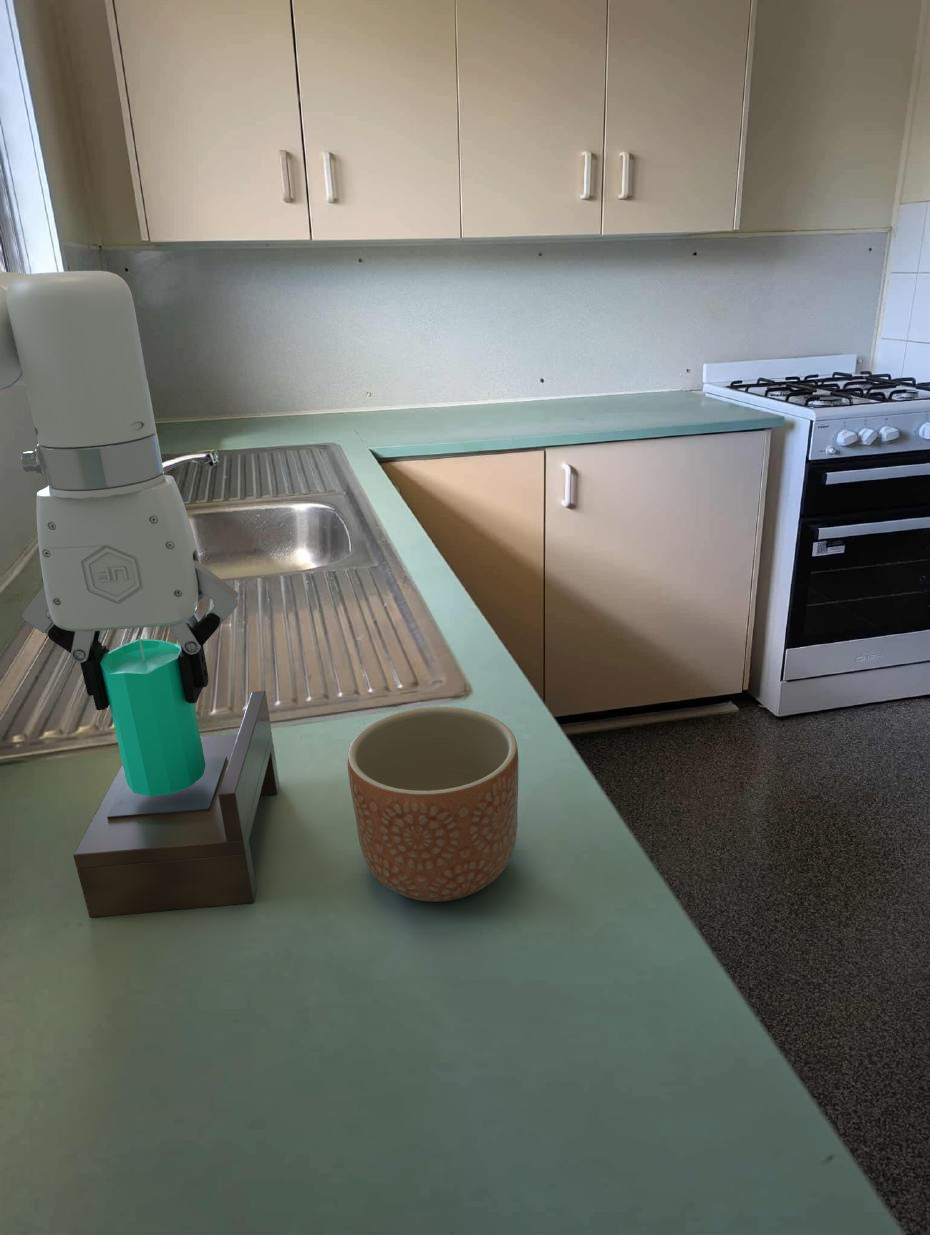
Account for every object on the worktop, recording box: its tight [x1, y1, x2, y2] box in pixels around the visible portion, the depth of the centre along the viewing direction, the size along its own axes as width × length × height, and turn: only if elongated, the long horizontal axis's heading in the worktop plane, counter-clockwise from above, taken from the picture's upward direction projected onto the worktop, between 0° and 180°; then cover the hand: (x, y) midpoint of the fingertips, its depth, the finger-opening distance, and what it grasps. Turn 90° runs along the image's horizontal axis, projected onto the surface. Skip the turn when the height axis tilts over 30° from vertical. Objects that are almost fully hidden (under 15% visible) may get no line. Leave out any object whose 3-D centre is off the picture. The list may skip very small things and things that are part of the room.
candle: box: [100, 635, 206, 796], centre depth 67 cm, size 6×6×12 cm
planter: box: [347, 706, 520, 903], centre depth 65 cm, size 12×12×11 cm
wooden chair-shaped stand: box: [72, 690, 280, 918], centre depth 70 cm, size 12×16×10 cm
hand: (151, 696), depth 67 cm, fingers closed on candle, 5 cm apart
